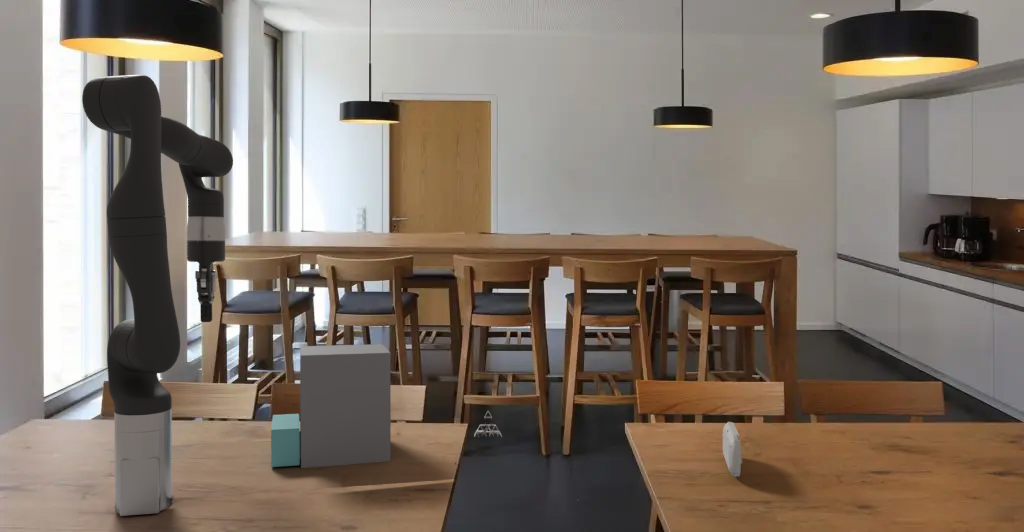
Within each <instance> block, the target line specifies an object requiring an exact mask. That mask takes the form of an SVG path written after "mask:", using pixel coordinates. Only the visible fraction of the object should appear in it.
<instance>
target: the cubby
mask: <svg viewBox="0 0 1024 532" xmlns="http://www.w3.org/2000/svg"><path fill="white" fill-rule="evenodd" d="M299 361H300V362H299V364H300V365H299V367H300V368H299V371H300V372H299V373H300V375H299V376H300V377H299V380H300V382H299V387H300V388H299V395H300V396H299V400H300V401H299V403H300V404H299V407H300V409H299V410H300V411H299V431H301V459H300V467H301V469H307V468H321V467H322V468H323V467H333V466H344V465H355V464H357V465H359V464H368V463H380V462H381V463H382V462H391V458H392V457H391V455H392V454H391V442H392V441H391V438H392V437H391V425H392V424H391V421H392V420H391V419H392V418H391V412H392V411H391V406H392V405H391V352H390V351H389V349H388V348H387V347H386V346H384V344H382V343H379V344H377V343H376V344H373V343H372V344H342V345H341V344H339V345H336V344H335V345H334V344H333V345H309V346H307V345H306V346H302V345H300V346H299Z"/></svg>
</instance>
